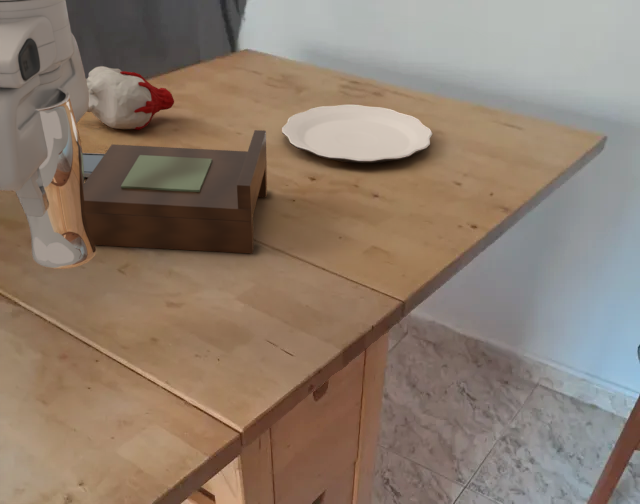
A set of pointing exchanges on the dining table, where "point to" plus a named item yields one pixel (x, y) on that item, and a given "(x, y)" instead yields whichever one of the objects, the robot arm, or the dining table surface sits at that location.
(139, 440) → the dining table surface
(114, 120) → the white irregular lump
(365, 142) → the plate
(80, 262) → the beer glass
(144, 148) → the shelf
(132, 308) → the dining table surface
